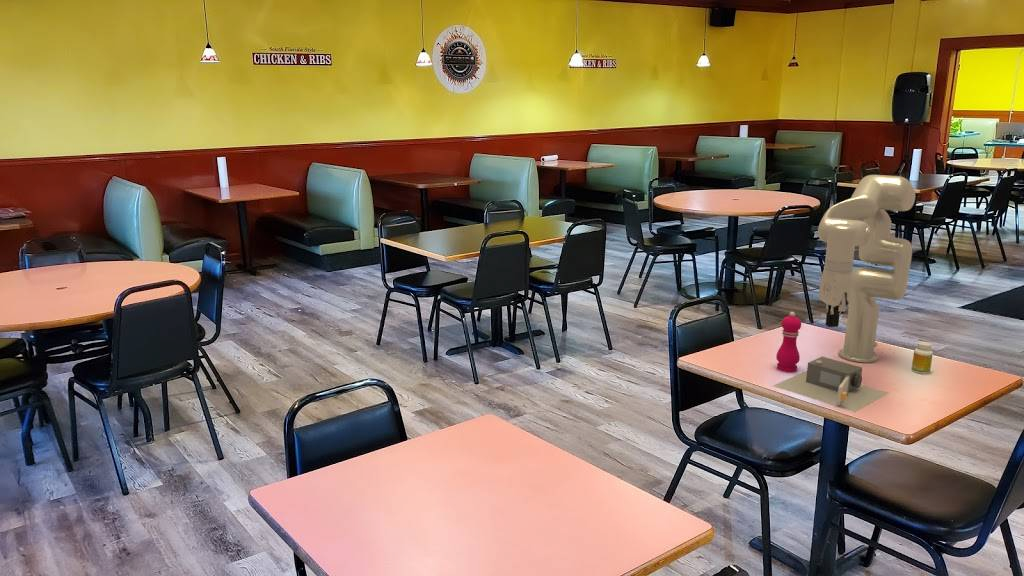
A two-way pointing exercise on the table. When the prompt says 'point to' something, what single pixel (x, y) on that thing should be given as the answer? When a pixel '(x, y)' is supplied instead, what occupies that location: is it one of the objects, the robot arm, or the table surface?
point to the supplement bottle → (922, 358)
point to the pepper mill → (789, 344)
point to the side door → (843, 390)
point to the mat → (831, 393)
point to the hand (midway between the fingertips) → (831, 325)
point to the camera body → (833, 373)
